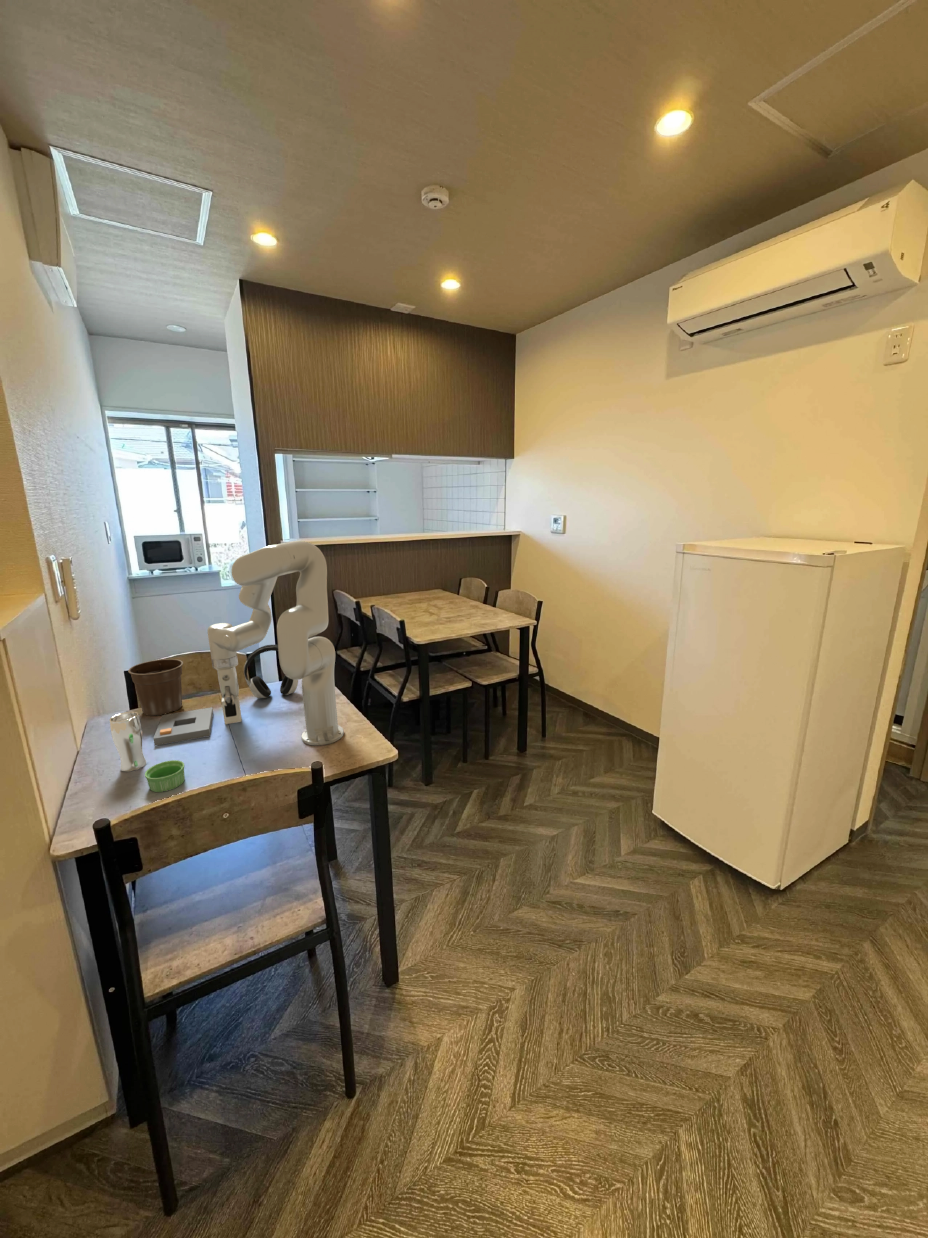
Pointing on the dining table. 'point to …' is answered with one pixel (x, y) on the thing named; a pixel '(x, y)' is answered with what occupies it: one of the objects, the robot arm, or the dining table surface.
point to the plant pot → (158, 685)
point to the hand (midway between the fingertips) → (231, 710)
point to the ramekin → (165, 775)
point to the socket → (184, 726)
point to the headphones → (259, 685)
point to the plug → (238, 717)
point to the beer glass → (128, 740)
